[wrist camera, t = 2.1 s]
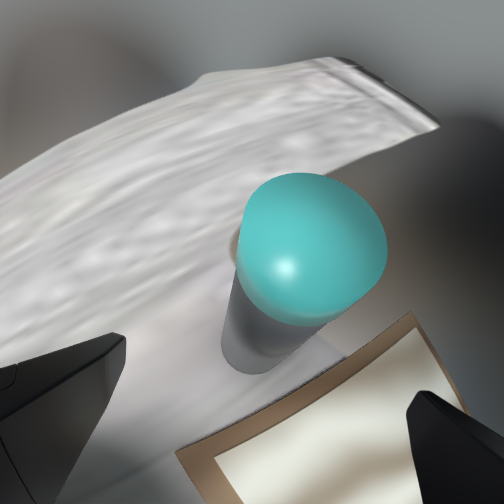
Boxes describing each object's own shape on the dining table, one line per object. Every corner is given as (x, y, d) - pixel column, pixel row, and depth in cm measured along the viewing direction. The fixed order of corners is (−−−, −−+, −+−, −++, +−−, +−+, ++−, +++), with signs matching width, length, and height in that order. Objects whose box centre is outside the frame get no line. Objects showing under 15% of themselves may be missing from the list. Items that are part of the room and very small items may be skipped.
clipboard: (487, 459, 16) (498, 458, 15) (300, 611, 10) (306, 620, 8) (406, 313, 22) (416, 307, 21) (175, 451, 16) (173, 454, 14)
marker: (296, 356, 20) (412, 261, 8) (239, 387, 18) (298, 332, 7) (264, 302, 21) (331, 160, 10) (207, 329, 20) (215, 196, 9)
